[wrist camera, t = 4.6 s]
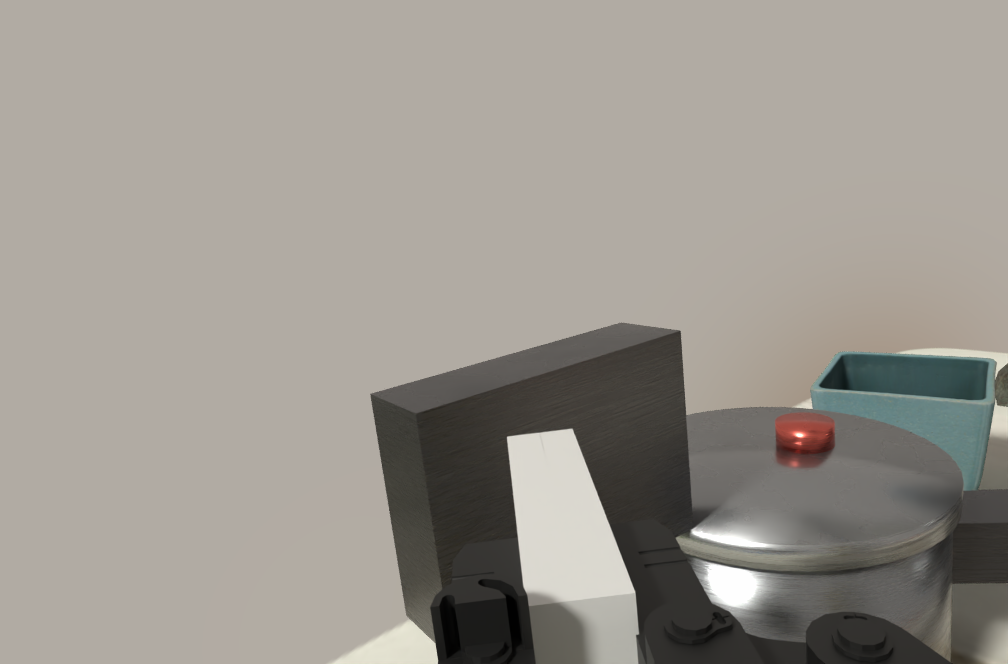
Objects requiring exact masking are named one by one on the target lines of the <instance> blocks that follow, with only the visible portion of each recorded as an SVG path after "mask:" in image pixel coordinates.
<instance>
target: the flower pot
mask: <svg viewBox="0 0 1008 664" xmlns="http://www.w3.org/2000/svg"><path fill="white" fill-rule="evenodd" d="M996 364H997V362H996V361H995V360H994V359H990V358H977V357H956V356H933V355H915V354H892V353H871V352H839V353H838V354H836V355H835V356H834V357H833V358H832V360H831V361H830V363H829V365H828V366H827V367H826V369H825V370H824V371H823V373H821V375H820V376H819V377H818V379H817V380H816V381H815V382H814V383H813V385H812V386H811V389H810V391H811V398H812V406H813V409H815V410H824V411H831V412H839V413H844V414H850V415H855V416H860V417H864V418H869V419H873V420H877V421H880V422H884V423H887V424H890V425H894V426H897V427H899V428H902V429H905V430H907V431H910V432H912V433H914V434H917V435H919V436H921V437H923V438H925V439H927V440H929V441H930V442H932V443H934V444H935V445H937V446H939V447H940V448H941V449H942V450H944V451H945V452H946V453H948V454H949V455H950V456H951V457H952V459H953V460H954V461H955V462H956V463H957V465H958V466H959V468H960V470H961V472H962V476H963V482H964V489H963V491H971V490H978V488H979V485H980V482H981V478H982V474H983V469H984V463H985V458H986V452H987V446H988V440H989V434H990V429H991V423H992V417H993V411H994V405H995V371H996Z"/></svg>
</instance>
